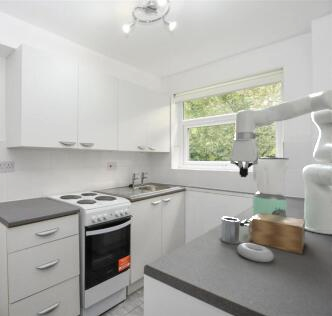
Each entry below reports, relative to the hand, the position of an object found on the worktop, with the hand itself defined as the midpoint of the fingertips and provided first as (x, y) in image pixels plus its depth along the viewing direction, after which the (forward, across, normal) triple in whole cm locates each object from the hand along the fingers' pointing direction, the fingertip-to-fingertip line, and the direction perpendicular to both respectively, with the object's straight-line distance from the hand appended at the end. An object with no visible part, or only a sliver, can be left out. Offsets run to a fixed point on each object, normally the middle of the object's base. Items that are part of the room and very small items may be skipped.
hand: (243, 176), depth 102 cm
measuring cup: (+25, 0, +19) cm, 32 cm away
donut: (+25, -10, +29) cm, 40 cm away
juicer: (+25, -7, -16) cm, 31 cm away
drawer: (+24, -10, +6) cm, 27 cm away
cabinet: (+25, -14, +6) cm, 29 cm away
